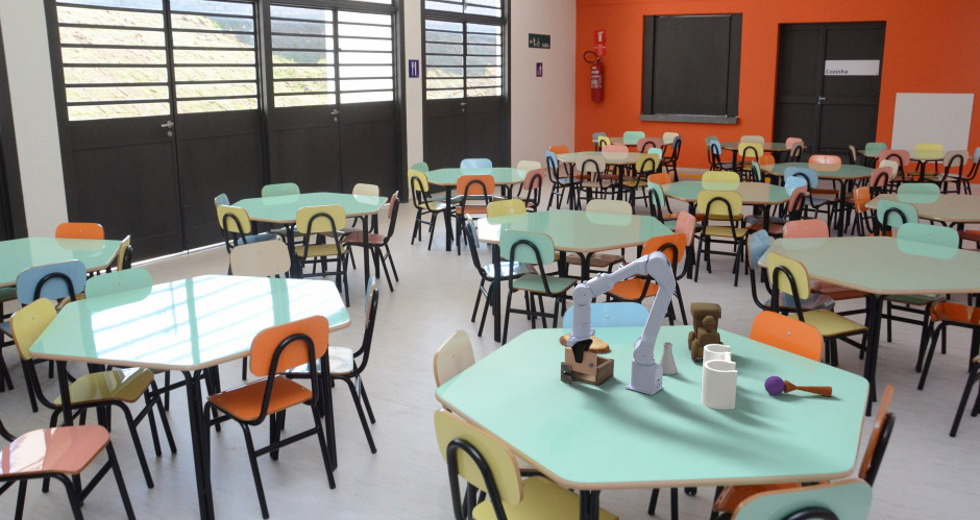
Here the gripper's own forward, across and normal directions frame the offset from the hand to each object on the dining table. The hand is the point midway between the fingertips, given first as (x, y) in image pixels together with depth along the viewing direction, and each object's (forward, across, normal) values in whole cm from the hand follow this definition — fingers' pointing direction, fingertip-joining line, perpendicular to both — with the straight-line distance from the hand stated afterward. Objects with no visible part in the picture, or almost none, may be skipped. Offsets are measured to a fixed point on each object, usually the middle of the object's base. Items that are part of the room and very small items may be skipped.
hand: (580, 361), depth 264 cm
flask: (+8, -26, +18) cm, 33 cm away
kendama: (+8, -33, +59) cm, 68 cm away
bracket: (+8, -18, +39) cm, 43 cm away
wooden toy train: (+8, -50, +22) cm, 55 cm away
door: (+3, 0, 0) cm, 3 cm away
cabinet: (+7, -5, -1) cm, 9 cm away
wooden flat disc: (+8, -33, -18) cm, 38 cm away
